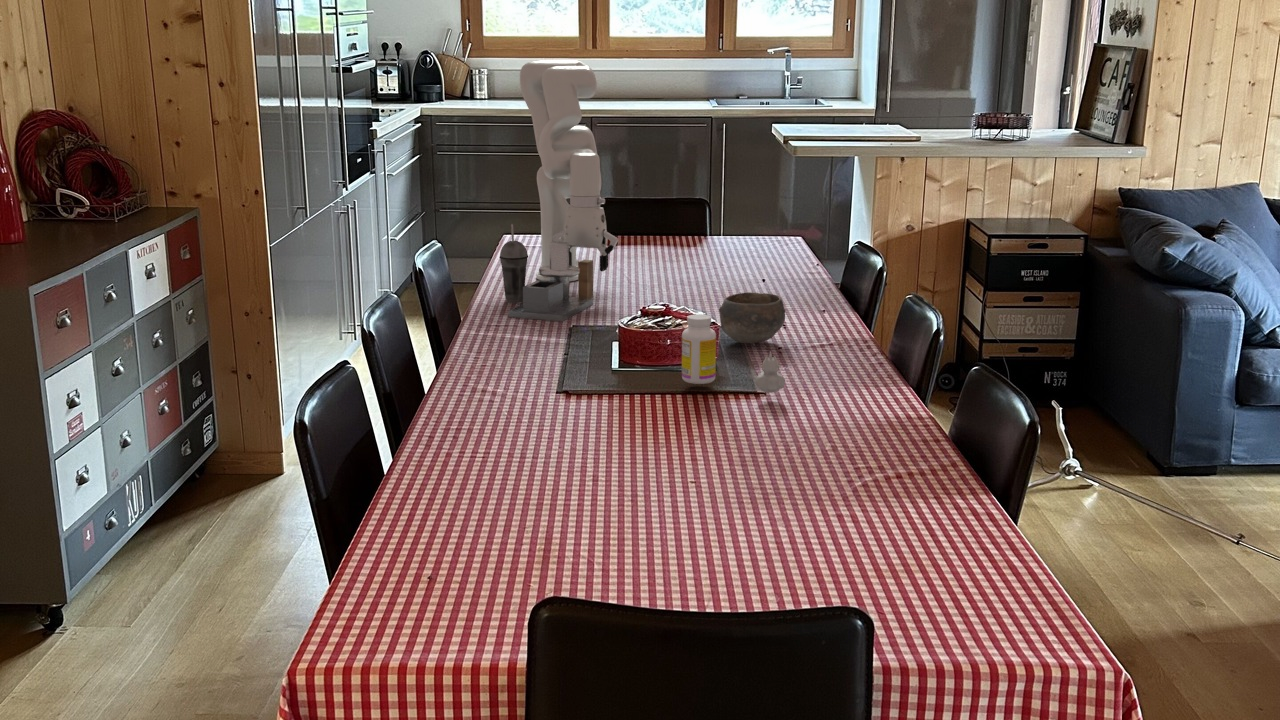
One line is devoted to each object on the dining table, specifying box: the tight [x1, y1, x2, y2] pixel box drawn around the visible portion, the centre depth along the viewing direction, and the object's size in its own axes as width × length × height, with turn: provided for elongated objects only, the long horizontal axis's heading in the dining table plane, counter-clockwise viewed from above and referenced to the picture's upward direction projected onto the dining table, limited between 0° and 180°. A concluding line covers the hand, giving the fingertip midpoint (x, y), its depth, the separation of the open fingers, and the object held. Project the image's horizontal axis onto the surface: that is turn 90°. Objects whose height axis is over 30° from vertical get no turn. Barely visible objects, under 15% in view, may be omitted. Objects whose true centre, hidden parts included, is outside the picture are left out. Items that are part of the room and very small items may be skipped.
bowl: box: [718, 291, 786, 344], centre depth 269 cm, size 14×15×10 cm
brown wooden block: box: [577, 259, 594, 299], centre depth 311 cm, size 4×2×10 cm, turn 161°
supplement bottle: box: [681, 313, 717, 385], centre depth 238 cm, size 7×7×13 cm
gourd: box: [755, 350, 786, 394], centre depth 231 cm, size 5×7×8 cm
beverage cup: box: [499, 223, 529, 304], centre depth 307 cm, size 7×7×20 cm
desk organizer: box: [507, 242, 594, 323], centre depth 297 cm, size 20×14×16 cm
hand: (585, 269), depth 310 cm, fingers open, 9 cm apart
